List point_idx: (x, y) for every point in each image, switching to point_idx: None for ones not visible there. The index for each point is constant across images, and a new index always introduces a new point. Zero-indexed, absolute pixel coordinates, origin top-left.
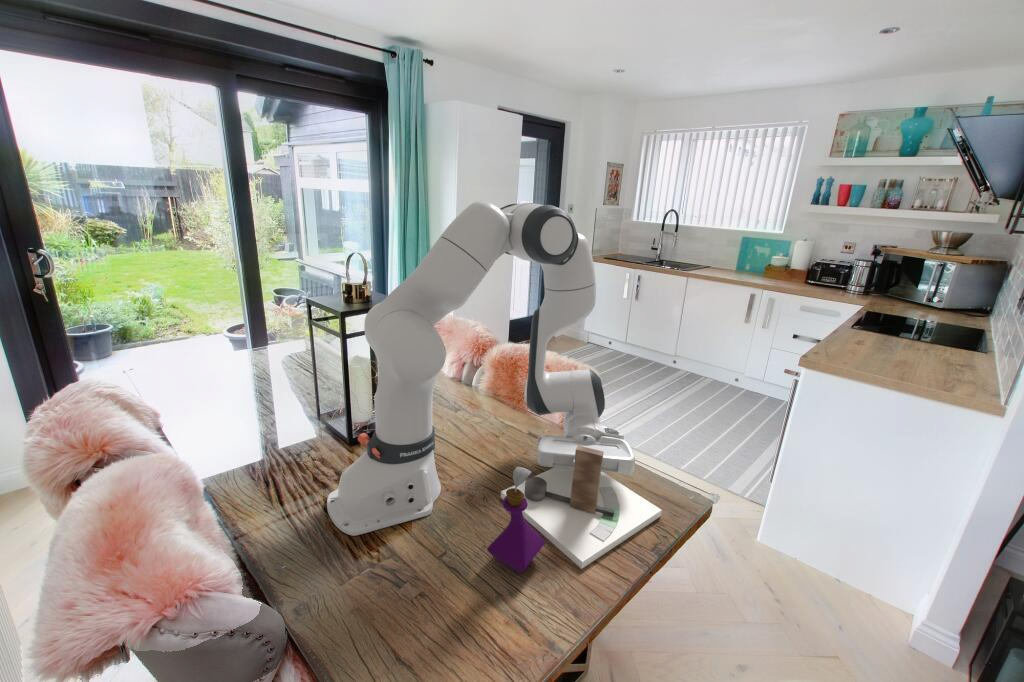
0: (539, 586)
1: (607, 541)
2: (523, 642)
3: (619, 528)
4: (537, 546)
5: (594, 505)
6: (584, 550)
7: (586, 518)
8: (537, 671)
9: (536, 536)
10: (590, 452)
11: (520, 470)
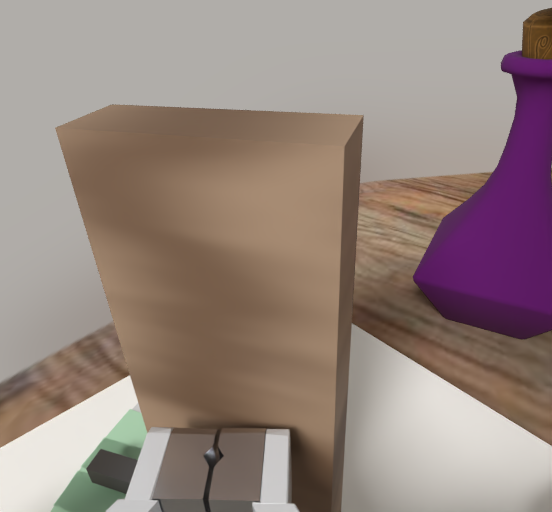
0: (397, 263)
1: None
2: (398, 199)
3: (109, 416)
4: (432, 245)
5: None
6: None
7: None
8: (367, 182)
9: (446, 236)
10: (208, 112)
11: None
